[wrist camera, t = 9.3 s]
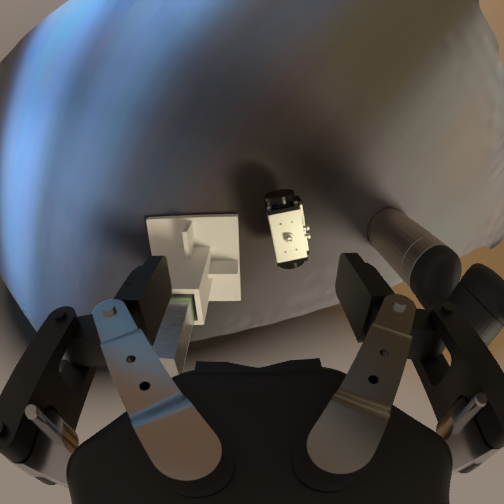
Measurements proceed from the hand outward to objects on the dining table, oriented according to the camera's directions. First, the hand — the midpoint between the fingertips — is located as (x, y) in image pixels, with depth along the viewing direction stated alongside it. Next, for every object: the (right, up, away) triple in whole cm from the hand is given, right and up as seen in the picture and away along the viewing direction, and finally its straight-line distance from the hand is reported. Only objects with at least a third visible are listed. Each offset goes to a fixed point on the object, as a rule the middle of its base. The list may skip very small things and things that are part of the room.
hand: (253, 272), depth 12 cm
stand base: (-11, 0, +40) cm, 42 cm away
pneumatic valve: (+5, +8, +37) cm, 38 cm away
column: (-11, -4, +33) cm, 35 cm away
